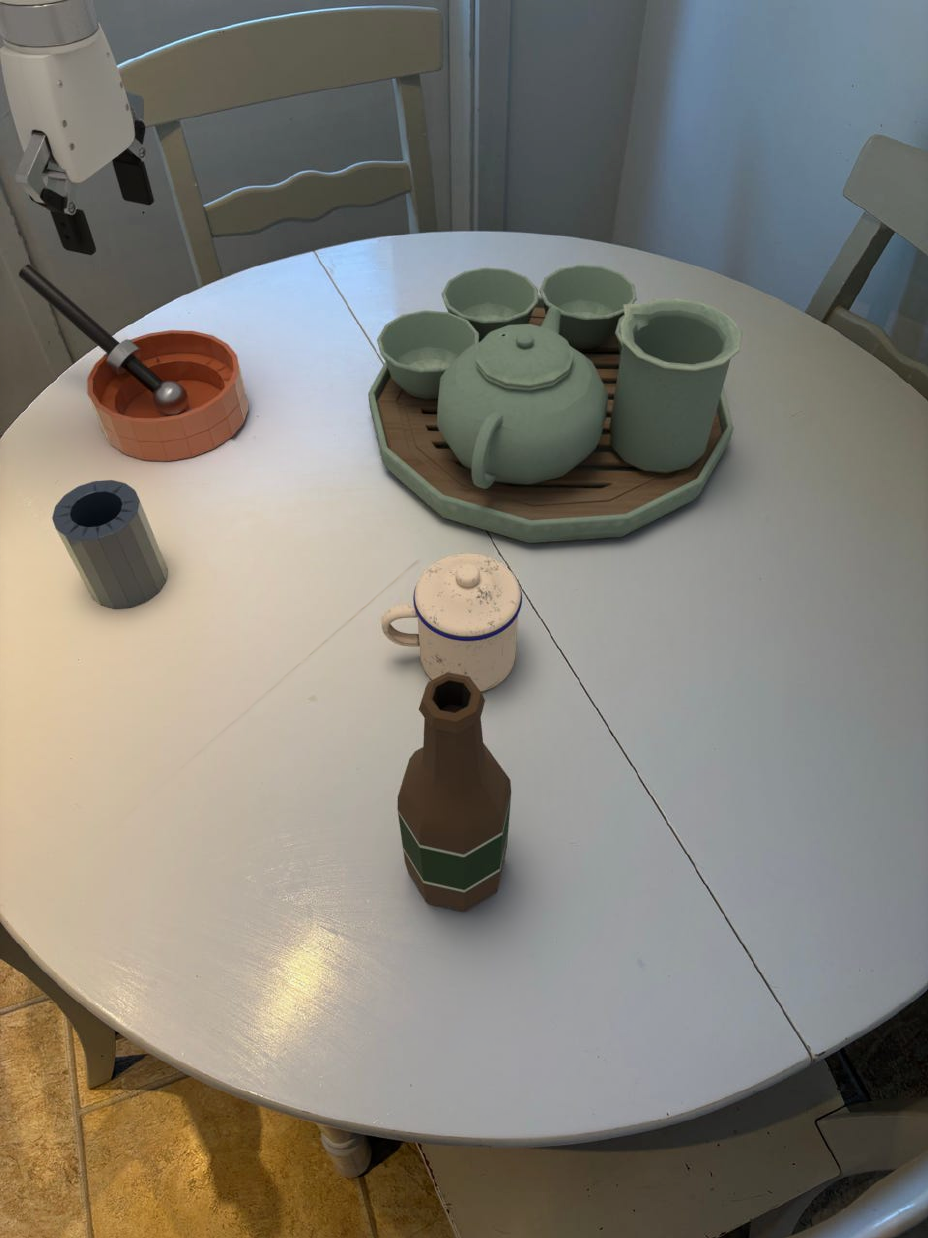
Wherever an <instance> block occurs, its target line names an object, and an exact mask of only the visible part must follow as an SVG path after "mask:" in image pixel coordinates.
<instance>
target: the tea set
mask: <svg viewBox="0 0 928 1238" xmlns="http://www.w3.org/2000/svg"><path fill="white" fill-rule="evenodd" d="M441 298H442V301H443V304H444V306H445V308H446V310H447V311H437V310H428V309H427V310H419V311H415V312H410V313H405V314H401V315H400V316H398V317H396V318H395V319H393V320H391V321H389V322H388V323H386V324H384V326H383V328H382V330H381V332H380V333H379V334H378V337H377V339H376V342H377V347H378V349H379V350H378V351H379V353H380V356H381V357H382V359H383V360H384V363H383V365H382V367H381V369H380V371H379V373H378V374H377V376H376V377H375V380H374V381H373V383H372V385H371V387H370V389H369V391H368V394H367V397H368V405H369V411H370V415H371V418H372V423H373V427H374V431H375V436H376V440H377V444H378V449H379V452H380V458H381V461H382V463H383V465H384V467H385V468H386V469H387V470H388V471H389V472H390V473H391V474H392V475H394V476H395V477H396V478H397V479H398V480H399V481H400V482H401V483H403V484H404V485H405V486H406V487H407V488H409V489H410V491H412V492H413V493H414V495H415V494H416V496H418V497H419V498H420V499H421V500H422V501H423V502H424V503H425V504H427V505H428V506H429V507H430V508H432V510H434V511H435V512H436V513H437V514H438V515H439V516H440V517H441V518H443V519H446V520H451V521H453V522H457V523H461V524H464V525H468V526H470V527H474V528H477V529H481V530H484V531H487V532H490V533H494V534H497V535H499V536H500V535H501V536H503V537H508V538H511V539H515V540H517V541H520V542H524V543H528V544H533V543H535V544H537V543H549V542H563V541H578V540H589V539H590V540H593V539H607V538H609V539H610V538H621V537H624V536H627V535H628V534H630V533H632V532H634V531H636V530H638V529H640V528H642V527H644V526H646V525H648V524H649V523H652V522H654V521H656V520H657V519H658V520H659V518H662V517H663V516H665V515H667V514H670V513H671V512H673V511H676V510H677V509H679V508H681V507H683V506H685V505H687V504H689V503H691V502H693V501H694V500H695V499H697V497H698V496H700V493H701V492H702V490H703V488H704V487H705V485H706V483H707V481H708V480H709V478H710V477H711V475H712V473H713V471H714V469H715V468H716V465H717V464H718V462H719V460H720V459H721V457H722V455H723V454H724V453H725V450H726V449H727V446H728V445H729V443H730V441H731V438H732V435H733V433H734V432H733V431H734V425H733V420H732V417H731V412H730V408H729V403H728V399H727V395H726V391H725V386H724V384H725V381H726V377H727V374H728V370H729V366H730V364H731V363H730V362H731V360H732V358H733V357H735V356H736V355H737V354H739V353H740V350H741V345H742V337H743V333H742V332H741V330H740V329H739V327H738V325H737V324H736V323H735V321H734V320H733V318H732V316H730V315H728V314H727V313H725V312H723V311H721V310H720V309H718V308H716V307H714V306H712V305H711V304H708V303H705V302H700V301H695V300H691V299H687V298H682V297H681V298H680V297H679V298H678V297H677V298H659V299H658V298H657V299H652V300H649V301H647V302H644V303H635V302H636V301H638V299H637V298H638V297H637V291H636V286H635V284H634V283H633V282H632V281H631V280H629V278H627V277H626V276H625V275H624V274H623V273H621V272H619V271H616V270H613V269H611V268H609V267H605V266H603V265H590V264H589V265H588V264H576V265H572V266H567V267H560V268H558V269H556V270H555V271H553V272H552V273H550V274H548V275H547V276H545V277H544V278H543V281H542V283H541V285H540V288H539V289H538V287H537V286H536V285H535V283H533V282H532V281H531V280H530V279H529V277H527V276H526V275H523V274H521V273H518V272H516V271H513V270H511V269H508V268H495V267H480V268H476V269H469V270H465V271H462V272H461V273H459V274H457V275H456V276H454V277H452V278H450V279H449V280H447V283H446V284H445V286H444V288H443V290H442V292H441Z"/></svg>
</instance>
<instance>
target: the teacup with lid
mask: <svg viewBox="0 0 928 1238" xmlns="http://www.w3.org/2000/svg"><path fill="white" fill-rule="evenodd" d="M412 599H413V601H412V602H413V603H406V604H397V605H395V606H392V607H390V608H387V610H385V611H384V613H383V614H382V616H381V622H380V623H381V624H380V625H381V631H382V633H383V634H384V636H385V637H386V638H387V639H388V640H389V641H391V642H392V643H394V644H396V645H398V646H402V647H409V648H410V647H412V648H413V647H414V648H415V647H417V648H419V655H420V662H421V666H422V668H423V670H424V672H425V674H426V675H427V676H428V677H429V679H431V680H433V679H435V678H437V677H439V676H441V675H443V674H445V673H447V672H449V673H454V674H459V675H464V676H469V677H470V678H471V679H472V681H473V682H474V683H475V685H476V686H477V687H478V689H479V690H480V691H481V693H482V692H485V691H488V690H491V689H493V688H495V687H496V686H498V685H499V684H501V683H502V682H503V681H504V680H505V679H506V678H507V677H508V676H509V674H511V671H512V670H513V667H514V664H515V661H516V653H517V651H516V650H517V635H518V625H519V614H520V612H521V608H522V604H523V592H522V588H521V586H520V583H519V580H518V579H517V577H516V575H515V574H514V572H513V571H512V570H511V569H509V568H508V567H507V566H506V565H505V564H503V563H502V562H500V560H497V559H495V558H493V557H491V556H488V555H484V554H480V553H457V554H451V555H449V556H445V557H442V558H441V559H439V560H436V561H435V562H433V563H432V564H430V565H429V566H428V567H427V568H426V569H425V570H424V571H423V572H422V574H421V575H420V577H419V578H418V580H417V582H416V585H415V587H414V590H413V595H412ZM415 618H416V619H417V628H418V633H409V632H408V633H407V632H402V631H401V630H400V631H399V630H397V629H396V628H395V627H393V625H392V623H393V622H395V621H397V620H401V619H415Z"/></svg>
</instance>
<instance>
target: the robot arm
mask: <svg viewBox="0 0 928 1238" xmlns="http://www.w3.org/2000/svg"><path fill="white" fill-rule="evenodd" d="M0 36H1V39H2V41H3V44H4V45H3V46H1V47H0V67H1V71H2V77H3V83H4V86H5V91H6V96H7V100H8V104H9V108H10V112H11V115H12V119H13V122H14V125H15V129H16V132H17V136H18V139H19V143H20V145H21V148H22V151H23V155H22V157H21V160H20V162H19V164H18V166H17V168H16V171H15V173H14V179H15V182H16V183H17V185H19V187H20V188H21V189H22V190H23V191H24V192H25V193H26V194H27V195H28V196H29V199H30V201H32V202H33V203H35V204H36V205H39V206H41V208H42V209H43V210H46V211H49V212H50V215H51V217H52V220H53V224H54V226H55V229H56V231H57V234H58V238H59V240H60V243H61V246H62V248H63V249H64V250H66V251H68V252H73V253H78V254H82V255H87V256H93V255H94V254H95V253H96V252H97V247H96V244H95V241H94V238H93V234H92V232H91V228H90V225H89V222H88V220H87V217H86V214H85V212H84V210H83V209H81V208H78V203H79V195H80V187H81V183H83V182H84V181H87V180H88V179H89V178H90V177H92V176H93V175H94V174H96V173H97V172H99V171H100V170H101V169H102V168H104V167H105V166H106V165H108V164H110V162H112V167H113V170H114V173H115V177H116V180H117V183H118V187H119V191H120V194H121V197H122V199H123V200H124V201H125V202H131V203H135V204H140V205H144V206H151V205H153V204H154V203H155V198H154V194H153V190H152V187H151V183H150V179H149V175H148V172H147V168H146V163H145V161H144V160H145V159H146V157H147V150H146V147H145V146H144V141H145V135H146V123H144V119H145V117H144V115H145V114H144V113H145V99H144V97H143V96H142V95H141V94H137V93H133V92H129V91H126V88H125V86H124V83H123V80H122V77H121V73H120V70H119V68H118V65H117V62H116V59H115V56H114V53H113V51H112V49H111V47H110V44H109V41H108V39H107V36H106V35H105V32H104V29H103V28H102V26H101V24H100V23H99V20H98V16H97V13H96V9H95V5H94V0H0ZM59 167H60V168H61V170H64V171H59ZM59 182H62V183H64V189H63V195H61V194H60V193H58V185H59Z"/></svg>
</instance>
